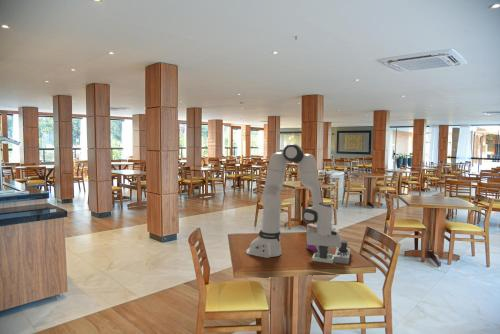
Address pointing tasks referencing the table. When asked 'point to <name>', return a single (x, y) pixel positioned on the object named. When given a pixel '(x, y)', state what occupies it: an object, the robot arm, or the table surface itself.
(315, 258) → the plug tray
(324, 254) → the black plug
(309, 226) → the candy bar box
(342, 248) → the seated twin plug
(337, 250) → the pdu strip
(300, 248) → the table surface
